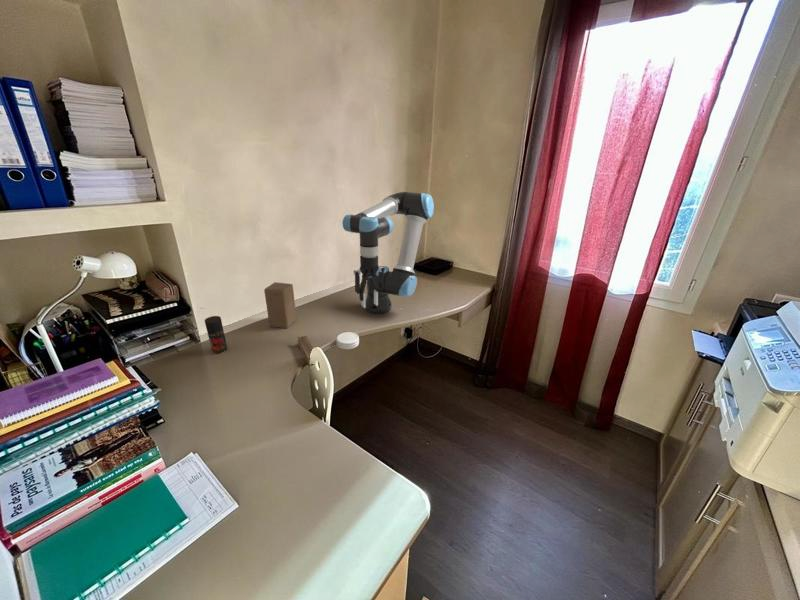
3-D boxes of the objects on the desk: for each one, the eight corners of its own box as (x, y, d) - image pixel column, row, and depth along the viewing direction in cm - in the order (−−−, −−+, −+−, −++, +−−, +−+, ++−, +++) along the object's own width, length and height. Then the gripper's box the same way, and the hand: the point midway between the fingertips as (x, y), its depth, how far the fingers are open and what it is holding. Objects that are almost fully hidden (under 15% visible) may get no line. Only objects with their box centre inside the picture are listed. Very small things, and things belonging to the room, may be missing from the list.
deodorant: (208, 352, 143) (201, 321, 137) (220, 345, 148) (213, 314, 142) (219, 355, 141) (212, 323, 135) (230, 348, 146) (224, 317, 140)
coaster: (332, 347, 149) (332, 340, 148) (343, 336, 158) (343, 330, 156) (352, 352, 146) (352, 345, 145) (362, 341, 155) (362, 334, 153)
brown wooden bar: (307, 342, 152) (306, 335, 150) (318, 363, 138) (318, 355, 136) (298, 344, 150) (297, 337, 149) (308, 365, 136) (308, 358, 134)
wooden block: (287, 329, 162) (282, 291, 154) (268, 326, 164) (263, 288, 156) (297, 319, 171) (293, 283, 163) (279, 317, 173) (274, 281, 165)
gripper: (384, 250, 147) (384, 298, 157) (345, 255, 139) (347, 306, 149) (392, 255, 141) (391, 305, 151) (351, 260, 133) (353, 312, 143)
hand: (369, 305), depth 150 cm, fingers open, 5 cm apart
